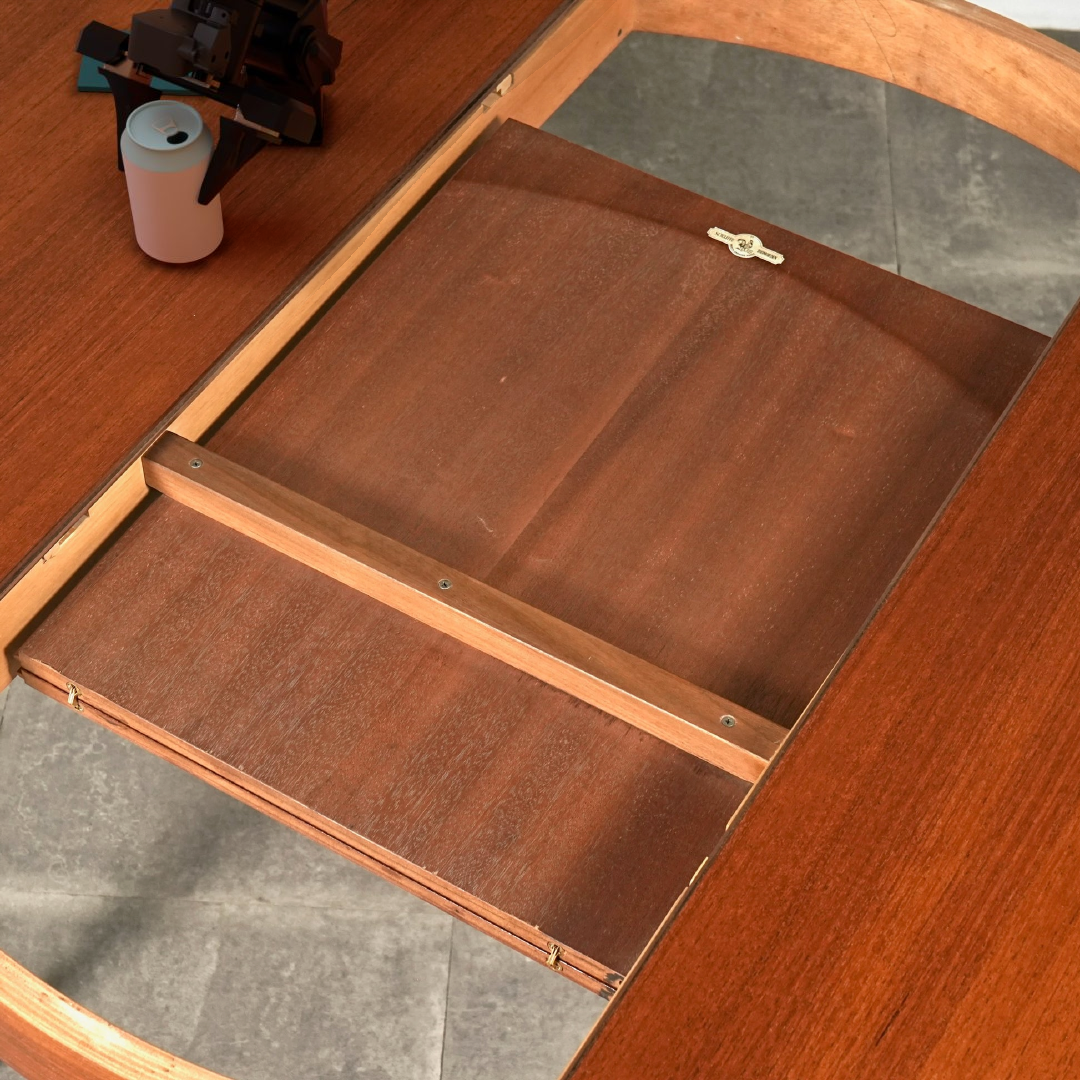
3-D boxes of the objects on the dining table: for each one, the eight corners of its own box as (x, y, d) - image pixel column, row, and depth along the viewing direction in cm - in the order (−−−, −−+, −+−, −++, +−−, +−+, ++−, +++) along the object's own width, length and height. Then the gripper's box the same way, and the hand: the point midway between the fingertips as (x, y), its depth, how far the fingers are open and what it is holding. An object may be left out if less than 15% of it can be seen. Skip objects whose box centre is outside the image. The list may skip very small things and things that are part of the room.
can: (234, 216, 133) (222, 101, 123) (210, 275, 129) (196, 161, 119) (152, 202, 133) (133, 86, 124) (125, 260, 129) (105, 145, 119)
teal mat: (211, 39, 146) (210, 33, 146) (204, 95, 142) (203, 90, 141) (88, 34, 145) (87, 28, 145) (77, 91, 141) (76, 85, 140)
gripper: (68, -74, 116) (4, 131, 119) (290, 11, 113) (218, 220, 116) (143, -36, 127) (82, 152, 130) (347, 43, 123) (280, 234, 126)
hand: (162, 188), depth 125 cm, fingers closed on can, 7 cm apart
